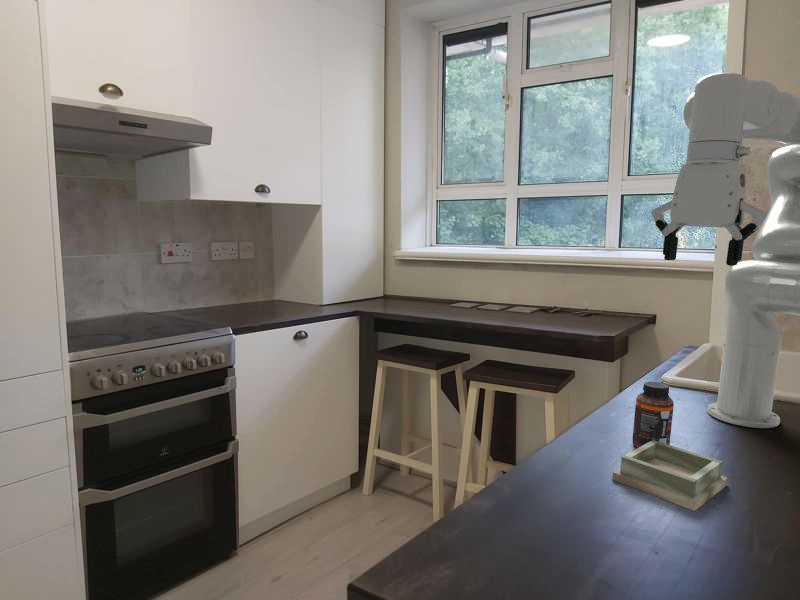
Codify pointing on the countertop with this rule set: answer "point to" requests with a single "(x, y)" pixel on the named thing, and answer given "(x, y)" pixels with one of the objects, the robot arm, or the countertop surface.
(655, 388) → the supplement bottle
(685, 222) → the robot arm
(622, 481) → the socket board
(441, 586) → the countertop surface
